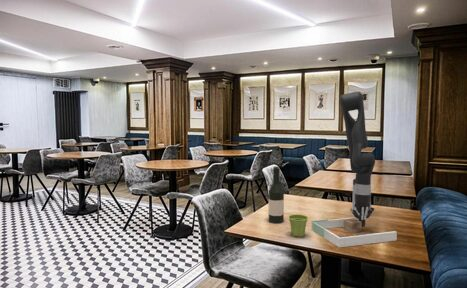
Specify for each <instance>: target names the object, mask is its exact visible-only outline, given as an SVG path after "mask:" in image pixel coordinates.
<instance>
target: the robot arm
mask: <svg viewBox="0 0 467 288" xmlns="http://www.w3.org/2000/svg"><path fill="white" fill-rule="evenodd" d="M339 101H340V102H339V103H340V108H341V112H342V116H343V121H344V126H345V127H344V128H345V134H346V141H347V145H348V151H349V163H350V170H351V171H352V172H353V173H355V178H354V179H353V180H352V203H351V204H352V206H351V208H350V210H349V211H350V212H351V213H352V214H353V216H354V217H355V218H358V219H359V221H361V222H362V228H365V227H366V219H369V218H370V217H371V215H372V213H374V211H375V208H374V207H372V205H371V204H372V198H371V197H372V185H371V184H372V183H371V181H372V180H371V179H372V173H373V171H374V167H375V163H376V158H375V157H376V156H375V155H374V154H373V153H372V152H362V150H364V149H367V148H368V147H369V141H368V136H367V135H368V134H367V129H366V116H365V105H364V97H363V94H362V92H361V91H353V92H348V93H343V94H341V95H340V97H339ZM352 111H357V117H356V119H354V118H353V116H352V115H351V114H350V112H352Z"/></svg>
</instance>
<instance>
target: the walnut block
mask: <svg viewBox="0 0 467 288" xmlns="http://www.w3.org/2000/svg"><path fill="white" fill-rule="evenodd" d="M343 230H344V231H346V232H348V233H350V234H358V233H363V232H362V231H363V227H362V222H361V221H358V220H356V219H345V220H344V227H343Z"/></svg>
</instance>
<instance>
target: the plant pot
mask: <svg viewBox="0 0 467 288" xmlns="http://www.w3.org/2000/svg"><path fill="white" fill-rule="evenodd" d="M287 218H288V220H289V224H290V225H289V226H290V232H291V233H290V234H291V235H292V236H294V237H299V238H302V237H304V236H305V234H306V227H307V222H308V220H309V216H306V215H305V214H298V213H297V214H290V215H288V216H287Z"/></svg>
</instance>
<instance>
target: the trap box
mask: <svg viewBox="0 0 467 288" xmlns="http://www.w3.org/2000/svg"><path fill="white" fill-rule="evenodd" d="M345 219H356V220H358V221H359V219H358V218H355V216H354V217H347V218H345V217H344V218H336V219H335V218H334V219H328V218H323V219H311V222H310V223H311V226H310V227H311V230H312V231H313V232H314V233H316V234H318V235H319V236H321V237H322V238H324V239H326V240H327V241H328V242H330V243H331V244H333V245H334V246H336V247H337V248H346V247H354V246H362V245H364V246H365V245H369V244H371V243H372V244H380V243H387V242H395V241H397V239H398V238H397V237H398V236H397V233H398V232H397V231H396V230H393V231H386V232H377V233H373V232H365V233H355V235H352V236H351V235H349V234H347V235H339V236H338V235H336V234H335V233H333V232H332V231H331V230H329V229H333V228H335V229H336V228H344V220H345Z"/></svg>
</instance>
